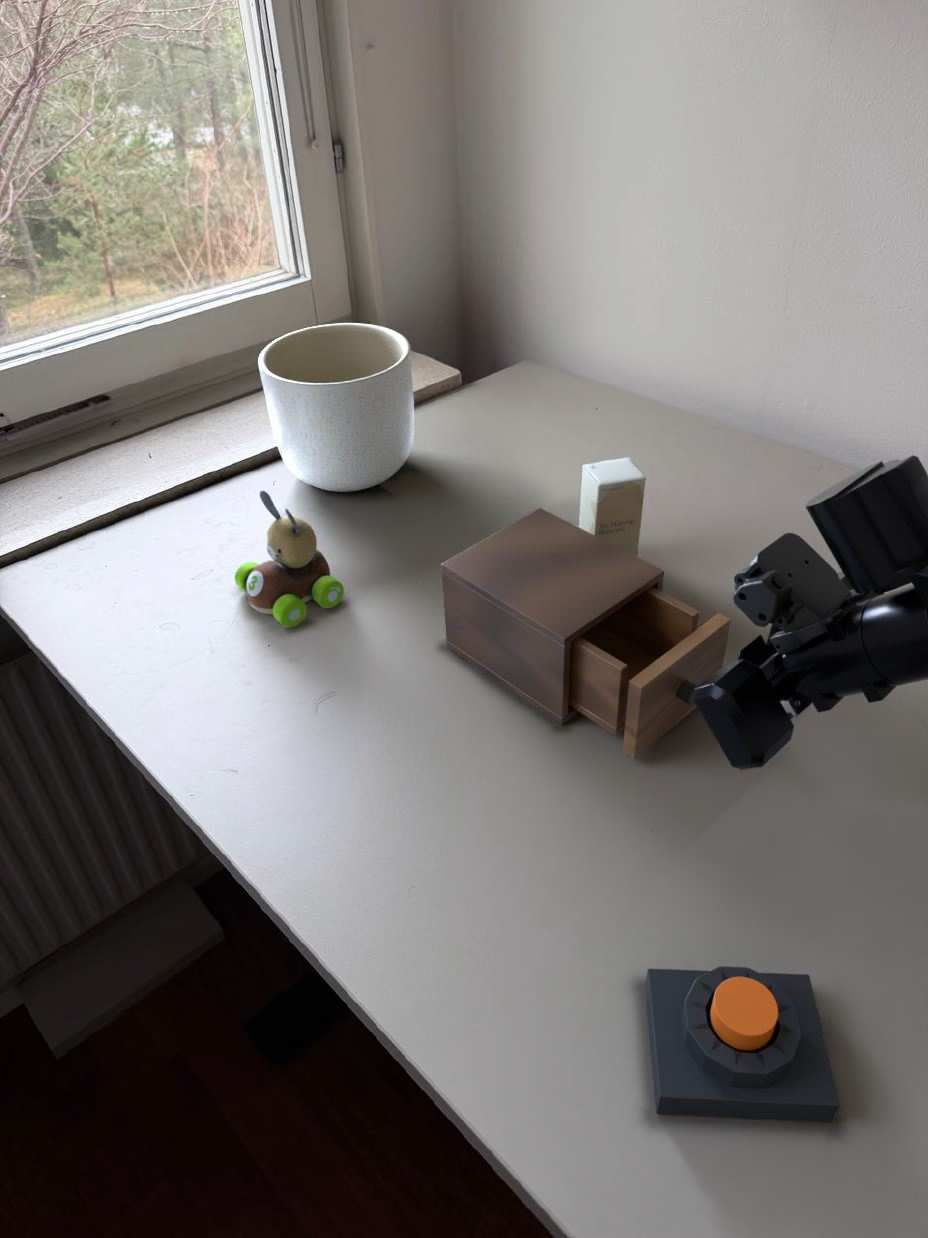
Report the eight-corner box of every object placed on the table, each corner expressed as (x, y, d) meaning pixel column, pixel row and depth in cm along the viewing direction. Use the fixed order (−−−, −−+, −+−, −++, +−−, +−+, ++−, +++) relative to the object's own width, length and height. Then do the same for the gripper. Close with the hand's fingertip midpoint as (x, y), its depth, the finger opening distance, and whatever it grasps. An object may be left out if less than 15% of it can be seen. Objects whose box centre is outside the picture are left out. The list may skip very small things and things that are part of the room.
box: (590, 579, 95) (595, 485, 88) (575, 556, 98) (579, 463, 91) (639, 570, 96) (647, 475, 89) (622, 547, 99) (629, 454, 92)
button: (767, 993, 56) (772, 977, 55) (778, 1052, 53) (784, 1037, 52) (706, 990, 56) (709, 975, 55) (714, 1049, 54) (718, 1034, 53)
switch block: (802, 992, 60) (814, 958, 57) (832, 1123, 54) (847, 1091, 51) (644, 986, 61) (649, 952, 58) (656, 1114, 55) (662, 1082, 52)
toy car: (231, 594, 96) (208, 500, 89) (304, 559, 100) (287, 468, 93) (277, 636, 90) (257, 540, 83) (353, 598, 94) (339, 503, 87)
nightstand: (655, 655, 86) (665, 570, 80) (561, 725, 79) (564, 639, 73) (539, 588, 94) (540, 507, 88) (446, 647, 88) (440, 563, 82)
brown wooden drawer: (730, 696, 80) (743, 625, 75) (646, 767, 74) (654, 696, 69) (598, 620, 88) (602, 552, 84) (513, 679, 83) (512, 609, 78)
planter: (440, 488, 110) (432, 365, 101) (299, 522, 106) (276, 397, 96) (394, 426, 123) (383, 312, 113) (266, 455, 118) (244, 338, 108)
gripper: (902, 471, 63) (738, 542, 76) (741, 593, 53) (585, 650, 67) (983, 614, 63) (805, 660, 77) (838, 761, 54) (664, 783, 67)
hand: (719, 683), depth 72 cm, fingers closed
